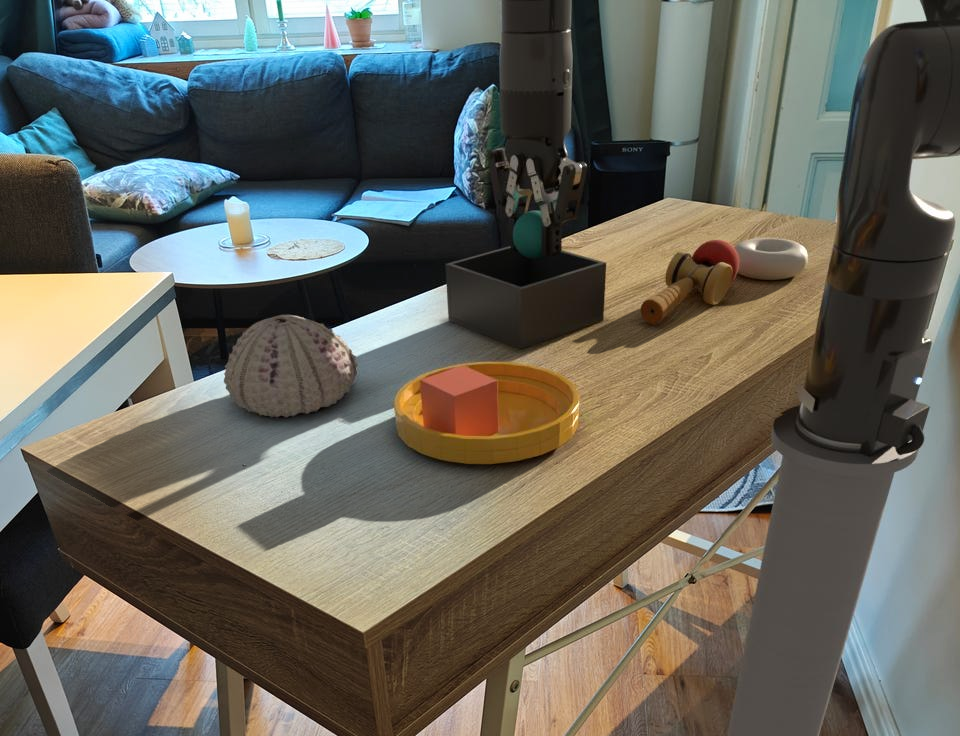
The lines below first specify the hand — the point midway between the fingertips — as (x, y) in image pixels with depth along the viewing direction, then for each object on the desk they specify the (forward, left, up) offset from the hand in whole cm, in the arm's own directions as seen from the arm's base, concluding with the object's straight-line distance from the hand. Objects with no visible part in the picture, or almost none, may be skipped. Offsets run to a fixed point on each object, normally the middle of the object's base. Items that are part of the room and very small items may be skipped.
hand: (534, 253), depth 103 cm
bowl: (-19, +24, -7) cm, 31 cm away
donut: (-9, -33, -8) cm, 35 cm away
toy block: (-19, +27, -7) cm, 33 cm away
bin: (0, +2, -7) cm, 7 cm away
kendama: (-10, -16, -8) cm, 21 cm away
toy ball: (0, 0, 0) cm, 0 cm away
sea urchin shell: (0, +34, -8) cm, 34 cm away
